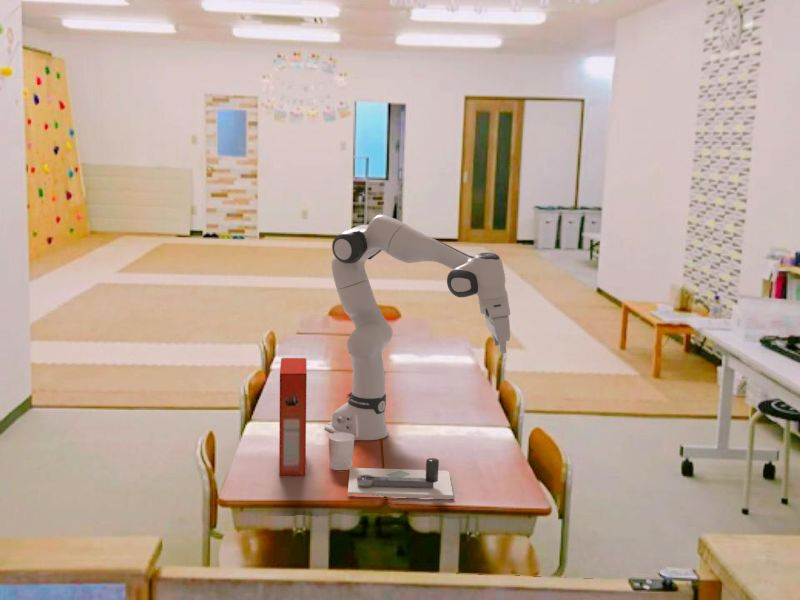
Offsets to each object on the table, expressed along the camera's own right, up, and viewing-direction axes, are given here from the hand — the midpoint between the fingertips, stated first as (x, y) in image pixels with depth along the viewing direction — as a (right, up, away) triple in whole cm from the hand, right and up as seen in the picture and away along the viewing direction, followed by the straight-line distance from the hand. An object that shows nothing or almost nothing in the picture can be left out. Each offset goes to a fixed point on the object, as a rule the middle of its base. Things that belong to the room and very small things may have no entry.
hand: (500, 348), depth 267 cm
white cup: (-49, -37, +1) cm, 61 cm away
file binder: (-64, -36, +1) cm, 74 cm away
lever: (-32, -39, -16) cm, 52 cm away
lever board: (-31, -40, -11) cm, 52 cm away
